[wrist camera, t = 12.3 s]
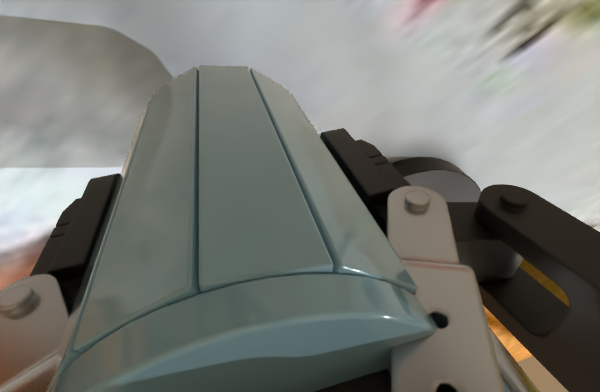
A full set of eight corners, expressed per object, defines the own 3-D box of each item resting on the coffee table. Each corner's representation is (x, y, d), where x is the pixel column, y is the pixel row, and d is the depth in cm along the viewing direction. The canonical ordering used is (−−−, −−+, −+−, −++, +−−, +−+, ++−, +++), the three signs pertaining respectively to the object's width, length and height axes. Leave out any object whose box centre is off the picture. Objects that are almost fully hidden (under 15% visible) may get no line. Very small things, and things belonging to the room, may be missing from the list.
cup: (113, 182, 11) (-22, 543, 4) (182, 24, 9) (126, 258, 2) (257, 229, 14) (312, 485, 7) (336, 120, 12) (523, 344, 5)
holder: (282, 265, 22) (407, 706, 9) (397, 124, 18) (970, 606, 5) (391, 294, 28) (558, 582, 15) (497, 195, 24) (861, 486, 11)
